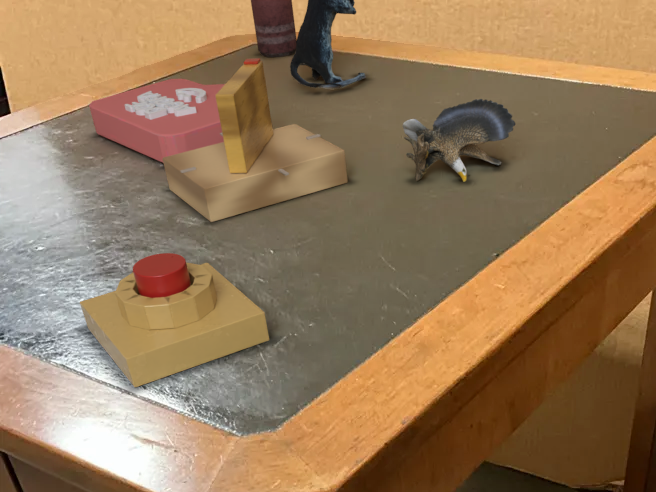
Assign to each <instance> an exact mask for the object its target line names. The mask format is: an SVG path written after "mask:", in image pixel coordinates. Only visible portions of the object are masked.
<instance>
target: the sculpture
mask: <svg viewBox="0 0 656 492" xmlns="http://www.w3.org/2000/svg"><path fill="white" fill-rule="evenodd" d="M355 3H356V2H355V0H307V6H306V11H305V14H304V18H303V20H302V23H301V25H300V26H299V29H298V30H299V31H298V34H297V36H296V39H297V41H296V51H295V52H294V53H293V56H292V57H291V61H290V64H289V68H290V75H291V77H292V79H293V80H296V81H297V83H298V84H300V85H302V86H304V87H305V86H306V87H309V88H314V89H318V88H320V89H321V88H323V89H326V90H339V89H342V88H344V87H347V86H349V85H352V84H354V83H357V82H359V81H362V80H363V79H366V78H367V76H366V73H365V72H358V73H357V75H356V76H355V77H352V78H348V79H344V80H343V78H342V77H341V76H337V75H335V74H334V72H333V67H332V65H333V60H334V52H333V47H332V40H333V39H332V27H333V23H334V21H335V19H336V16H337V14H339V15H341V14H342V15H354V16H355V15H356V14H357V10H356V7H354V6H355ZM300 66H307V67H309V68H311V77H312V78H313V80H315V81H317V80H318V79H319V78H320V77H321V78H322V79H323V81H324V83H319V82H309V81H307V80H305V78H302V77H301V76H300V74H299V73H298V69H299V67H300Z"/></svg>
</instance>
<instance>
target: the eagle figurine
mask: <svg viewBox="0 0 656 492" xmlns="http://www.w3.org/2000/svg"><path fill="white" fill-rule="evenodd" d="M512 118H513V114H512V113H510V112H509V109H508V108H505V107H504V104H502V103H498V102H496V101H493V100H491V99H490V100H488V99H485V98H484V99H483V98H479V99H477V98H475V99H473V100H472V101H467V102H465V103H459V104H458V105H454V106H449V107H446V108H443V109H442V111H441V112H440V113H439V114H438V116H437V117H436V119H435V120H434V121H433V124H432V129H430V128H427V126H425V125H424V124H423V123H422V122H421V121H419V120H418V119H417V118H412V119H411V118H410V119H407V120H405V121H404V122H403V123H402V129H403V132H404V134H405V135H406V136H404V140H406V141H407V142H409V143H410V144H411V147H412V150H413V153H414V154H413V153H411V152H407V153H406V154H405V155H406V157H407V158H408V159H411V160H412V161H413V162H414V164H415V170H416V171H415V177H414V178H415V181H416V182H419V181H420V180H422V178H423V176H425V174H427V171H428V169H429V168H430V167H431V165H432V164H434V163H435V162H437V161H439V160H440V161H442V162H443V163H444V164H445V165H446V166H448V167H449V168H451V169H452V170H453V171H455V172H456V174H458V176H460V178H461V180H462V182H463V183H465V182H467V168H466V166H465V164H464V163H463V161H462V159H461V156H466V157H471V158H474V159H478V160H482V161H485V162H486V163H490V164H492V165H495V166H501V165H502V161H501V160H499V159H497V158H494V157H492V156H490V155H488V154H487V152H485V151H484V149H482V148H481V147H480V146H479V145H481V144H485V143H488V142H497V141H498V142H499V141H503V140H505V139H508V138H509V136H510V133H511V132H513V131H514V127H515V126H516V122H515V120H514V119H512Z"/></svg>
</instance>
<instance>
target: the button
mask: <svg viewBox="0 0 656 492" xmlns="http://www.w3.org/2000/svg"><path fill="white" fill-rule="evenodd" d="M186 262H187V260H186V258H185V257H184V256H182V255H181V254H177V253H173V252H172V253H171V252H162V253H157V254H151V255H148V256H145V257H143V258H140V259H139V260H138V261H136V262H135V263H134V265H133V266H132V273H134V277H135V280H136V284H137V288H138V291H139V294H140V295H141V296H145V297H150V298H158V297H167V296H171V295H174V294H177V293H180V292H183V291H184V290H186V289H187V288H189V287H190V286H191V281H190V277H189V272H188V268H187V264H186Z"/></svg>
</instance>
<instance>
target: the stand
mask: <svg viewBox="0 0 656 492" xmlns="http://www.w3.org/2000/svg"><path fill="white" fill-rule="evenodd" d="M220 135H221V136H223V134H222V133H220ZM321 136H322V135H321V133H316V134H315V133H314V132H311V131H310V130H307V129H306V128H304V127H302V126H300V125H298V124H296V123H291V124H288V125H284V126H280V127H277V128H273V136H272V137H271V138H270V140H269V141H268V143H267V144H266V146H265V147H264V149H263V150H262V152H261V153H260V154H259V156H258V157H257V159H256V160H255V162H254V163H253V165H252V166H251V167H250V169H249V170H248V172H247V173H230V171H229V166H228V161H227V155H226V150H225V145H224V142H222V143H218V144H214V145H210V146H206V147H202V148H198V149H195V150H191V151H187V152H183V153H179V154H175V155H171V156H167V157H163V162H162V163H163V167H164V172H165V176H166V179H167V183H168V188H169V190H170V191H171V192H172V193H173V194H175V195H176V196H178V197H179V199H181V200H182V201H184V202H185V203H186V204H187V205H188V206H190V207H191V208H192V209H194V210H195V211H196V212H197V213H199V214H200V215H201V216H203V217H204V218H205V219H206V220H208V221H209V222H210V223H214V222H217V221H220V220H223V219H227V218H231V217H234V216H238V215H242V214H244V213H248V212H251V211H255V210H258V209H262V208H265V207H268V206H272V205H276V204H279V203H283V202H286V201H289V200H293V199H297V198H300V197H303V196H306V195H309V194H313V193H317V192H320V191H324V190H327V189H331V188H333V187H337V186H341V185H345V184H348V183H349V181H348V173H347V172H348V171H347V164H346V161H347V160H346V152H345V151H346V150H345V149H344V148H341V147H340V146H337V145H336V144H333V142H332V143H331V142H330V141H329V140H327V139H325V138H323V137H321Z"/></svg>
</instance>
